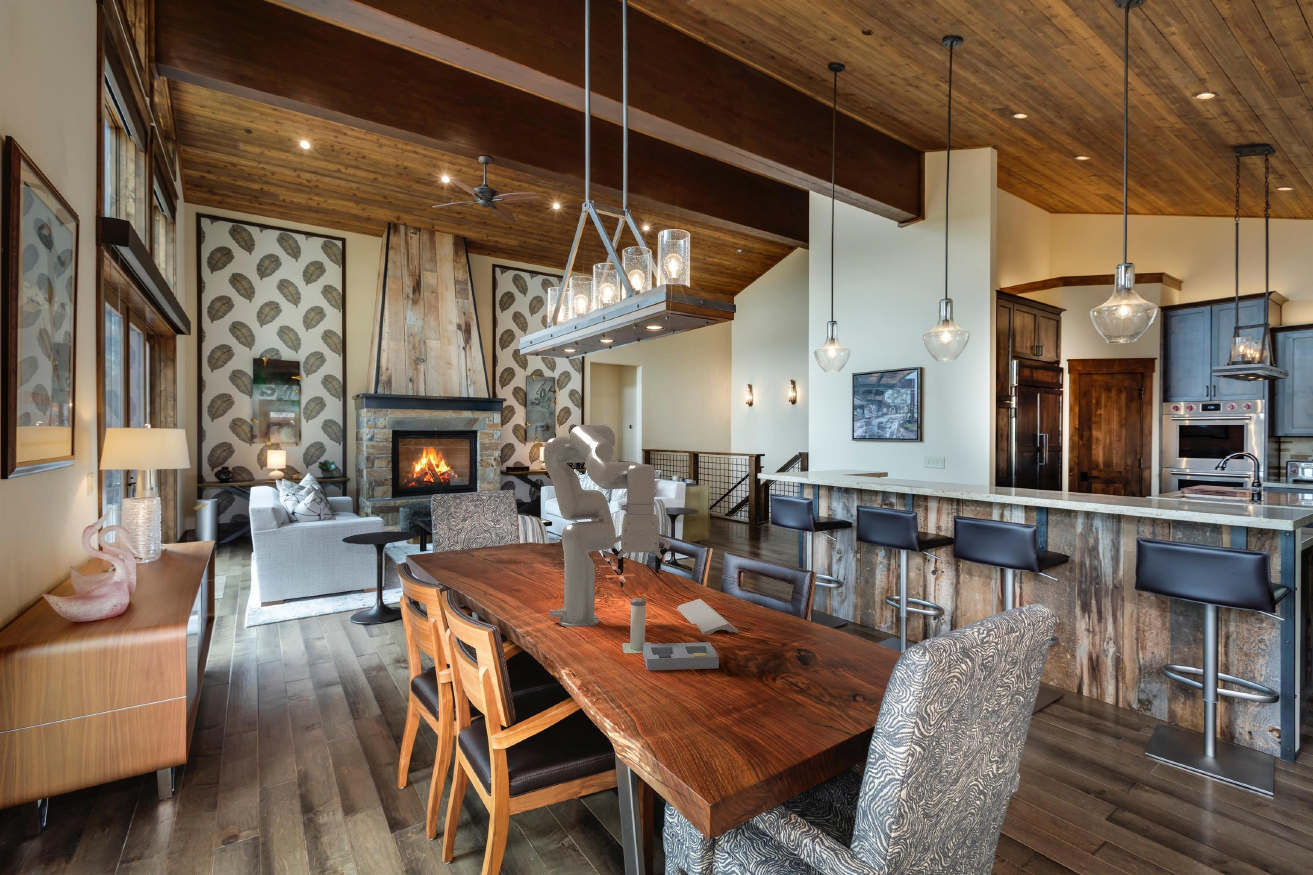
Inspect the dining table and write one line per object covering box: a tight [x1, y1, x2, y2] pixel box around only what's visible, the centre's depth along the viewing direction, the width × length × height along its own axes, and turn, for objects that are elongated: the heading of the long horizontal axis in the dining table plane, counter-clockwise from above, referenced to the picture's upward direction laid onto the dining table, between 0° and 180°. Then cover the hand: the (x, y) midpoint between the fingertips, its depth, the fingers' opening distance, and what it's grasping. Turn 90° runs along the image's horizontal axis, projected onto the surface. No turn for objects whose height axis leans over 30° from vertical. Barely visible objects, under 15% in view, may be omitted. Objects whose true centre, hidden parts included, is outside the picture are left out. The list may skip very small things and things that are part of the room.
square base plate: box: [621, 642, 652, 654], centre depth 171 cm, size 8×8×1 cm
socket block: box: [642, 641, 720, 671], centre depth 161 cm, size 18×11×4 cm, turn 97°
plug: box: [629, 597, 647, 650], centre depth 171 cm, size 4×4×13 cm
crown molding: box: [676, 598, 740, 636], centre depth 202 cm, size 29×12×4 cm, turn 14°
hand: (639, 572), depth 171 cm, fingers open, 9 cm apart
